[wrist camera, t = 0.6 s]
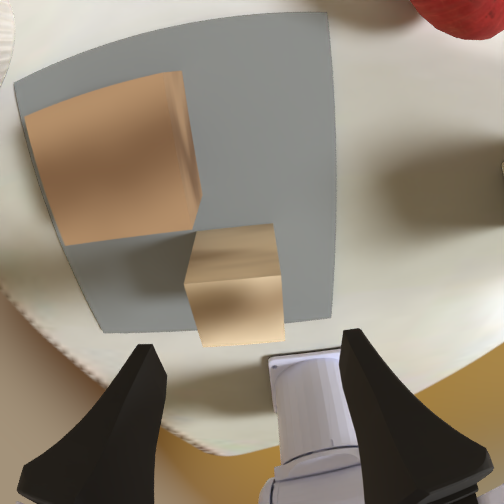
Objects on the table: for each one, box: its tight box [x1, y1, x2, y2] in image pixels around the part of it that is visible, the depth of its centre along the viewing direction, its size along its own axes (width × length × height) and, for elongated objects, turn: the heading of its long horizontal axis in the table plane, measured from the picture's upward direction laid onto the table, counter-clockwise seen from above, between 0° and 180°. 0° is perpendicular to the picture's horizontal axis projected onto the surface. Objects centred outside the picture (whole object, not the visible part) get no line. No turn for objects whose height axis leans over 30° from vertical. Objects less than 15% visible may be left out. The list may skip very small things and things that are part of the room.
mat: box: [14, 12, 336, 333], centre depth 18 cm, size 20×18×1 cm
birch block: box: [184, 223, 285, 347], centre depth 18 cm, size 4×4×5 cm
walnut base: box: [24, 71, 203, 246], centre depth 14 cm, size 7×7×4 cm
